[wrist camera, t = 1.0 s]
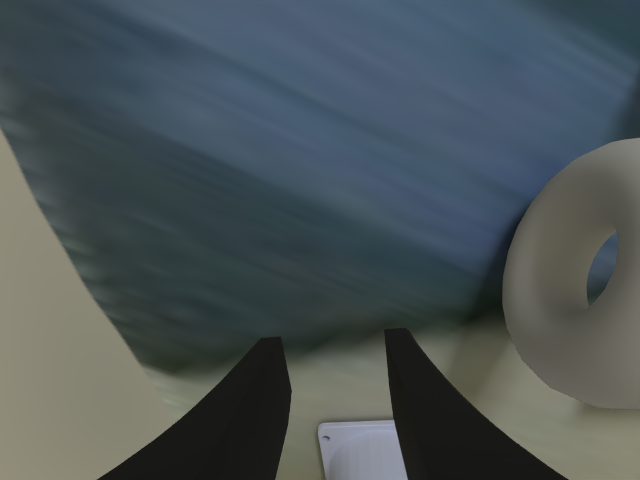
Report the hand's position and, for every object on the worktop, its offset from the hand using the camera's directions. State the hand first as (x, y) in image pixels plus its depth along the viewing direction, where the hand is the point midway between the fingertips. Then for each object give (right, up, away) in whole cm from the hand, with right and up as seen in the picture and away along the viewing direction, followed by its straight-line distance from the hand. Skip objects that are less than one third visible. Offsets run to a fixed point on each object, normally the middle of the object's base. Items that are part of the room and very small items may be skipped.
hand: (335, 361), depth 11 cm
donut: (+11, +4, +8) cm, 14 cm away
